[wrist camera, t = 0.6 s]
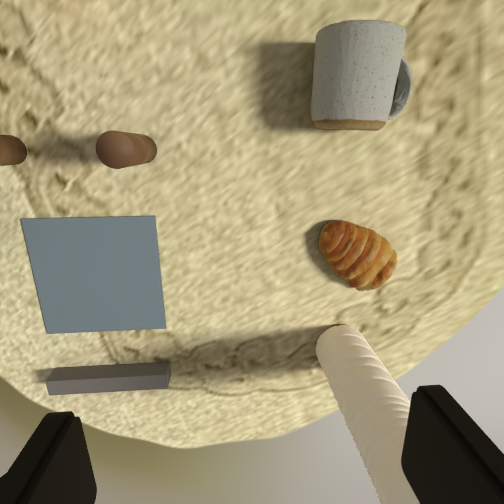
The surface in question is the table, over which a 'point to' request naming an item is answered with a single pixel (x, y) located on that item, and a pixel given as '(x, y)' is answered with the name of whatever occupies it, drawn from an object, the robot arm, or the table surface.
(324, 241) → the pastry
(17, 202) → the table surface
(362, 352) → the water bottle
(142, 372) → the wall
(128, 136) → the post
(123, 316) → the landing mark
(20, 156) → the post
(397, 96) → the ceramic mug
